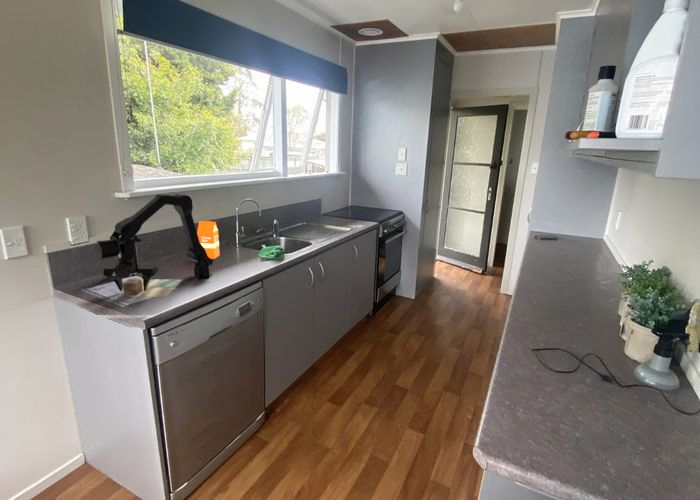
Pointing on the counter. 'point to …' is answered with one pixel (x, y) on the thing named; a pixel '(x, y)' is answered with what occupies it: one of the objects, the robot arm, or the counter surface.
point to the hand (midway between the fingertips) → (133, 290)
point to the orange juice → (209, 238)
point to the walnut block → (132, 287)
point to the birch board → (156, 288)
